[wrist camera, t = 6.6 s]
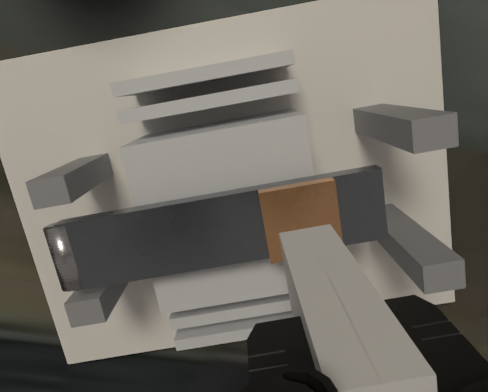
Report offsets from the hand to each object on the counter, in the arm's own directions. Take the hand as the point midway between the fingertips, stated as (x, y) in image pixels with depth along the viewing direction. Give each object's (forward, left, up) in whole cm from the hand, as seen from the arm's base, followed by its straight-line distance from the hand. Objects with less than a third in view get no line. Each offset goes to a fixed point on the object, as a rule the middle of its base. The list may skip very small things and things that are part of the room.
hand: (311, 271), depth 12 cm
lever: (-3, 0, -6) cm, 7 cm away
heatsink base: (-3, 0, -13) cm, 13 cm away
